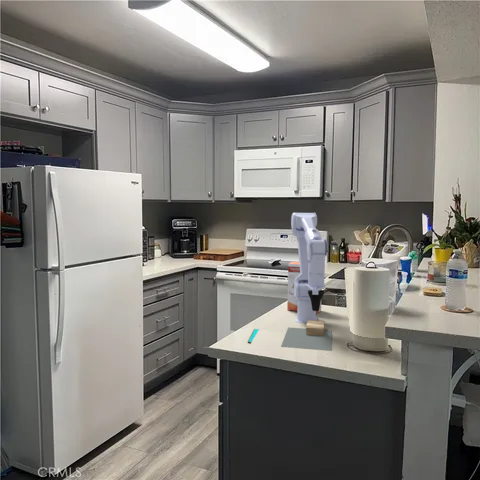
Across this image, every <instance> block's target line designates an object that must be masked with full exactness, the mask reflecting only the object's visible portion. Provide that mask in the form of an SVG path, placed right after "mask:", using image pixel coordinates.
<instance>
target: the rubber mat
mask: <svg viewBox="0 0 480 480" xmlns="http://www.w3.org/2000/svg"><path fill="white" fill-rule="evenodd" d="M280 347H281V348H291V349H292V348H293V349H304V350H305V349H306V350H317V351H330V352H332V351H333V330H331V329H324V335H323V336H320V335H306V328H303V327H302V328H301V327H287V330H286V332H285V335H284V338H283V341H282V343H281V345H280Z"/></svg>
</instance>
